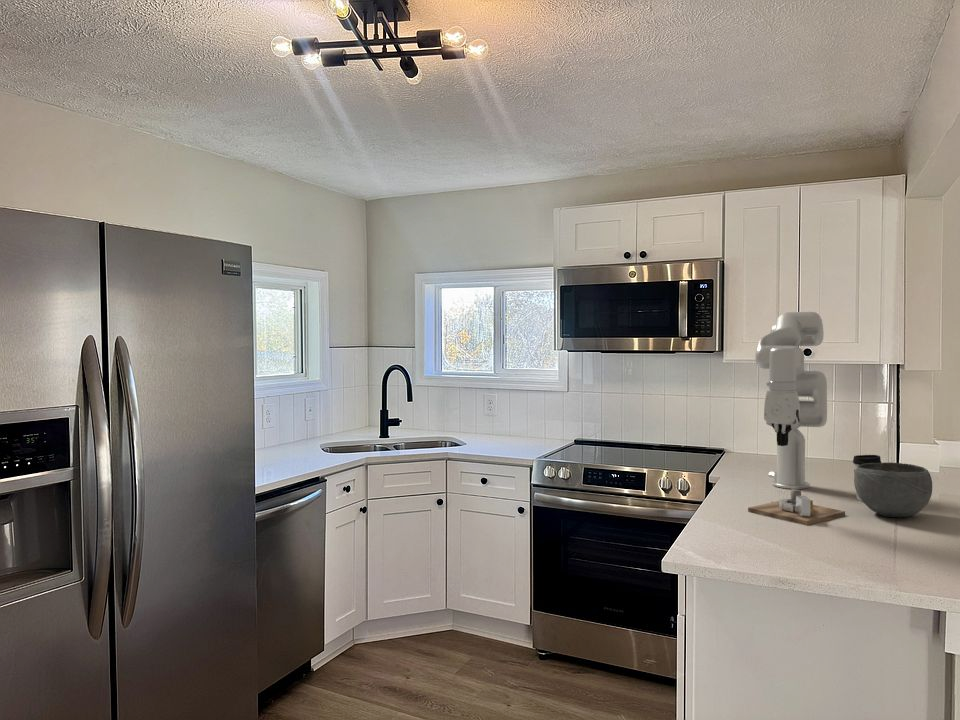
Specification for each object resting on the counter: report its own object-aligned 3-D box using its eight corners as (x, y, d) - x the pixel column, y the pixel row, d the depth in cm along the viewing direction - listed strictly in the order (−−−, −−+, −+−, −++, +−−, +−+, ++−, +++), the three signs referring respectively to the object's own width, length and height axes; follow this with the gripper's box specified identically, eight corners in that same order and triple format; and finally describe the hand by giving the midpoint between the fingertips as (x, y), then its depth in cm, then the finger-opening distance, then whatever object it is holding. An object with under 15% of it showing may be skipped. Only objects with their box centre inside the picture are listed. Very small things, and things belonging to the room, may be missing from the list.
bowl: (922, 509, 224) (922, 462, 223) (941, 526, 204) (942, 474, 204) (848, 504, 231) (849, 459, 230) (860, 521, 211) (860, 471, 210)
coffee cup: (885, 503, 232) (885, 458, 232) (857, 502, 234) (857, 457, 233) (876, 497, 240) (876, 453, 240) (849, 496, 242) (849, 453, 242)
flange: (789, 515, 212) (789, 499, 212) (776, 504, 226) (776, 489, 226) (822, 516, 211) (822, 499, 210) (806, 505, 225) (806, 489, 224)
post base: (747, 511, 224) (747, 488, 223) (786, 502, 234) (786, 481, 234) (806, 525, 207) (806, 500, 207) (845, 515, 218) (845, 492, 217)
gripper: (754, 386, 224) (754, 443, 226) (797, 389, 212) (797, 450, 213) (768, 384, 228) (768, 440, 230) (811, 387, 216) (811, 447, 217)
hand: (782, 445), depth 221 cm, fingers closed
